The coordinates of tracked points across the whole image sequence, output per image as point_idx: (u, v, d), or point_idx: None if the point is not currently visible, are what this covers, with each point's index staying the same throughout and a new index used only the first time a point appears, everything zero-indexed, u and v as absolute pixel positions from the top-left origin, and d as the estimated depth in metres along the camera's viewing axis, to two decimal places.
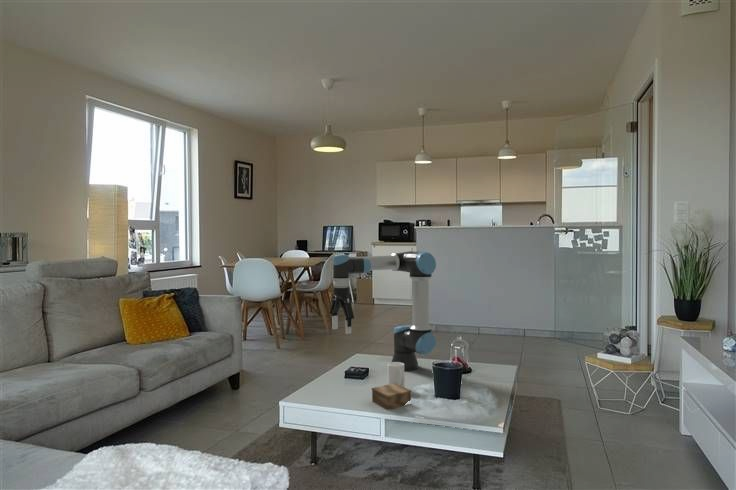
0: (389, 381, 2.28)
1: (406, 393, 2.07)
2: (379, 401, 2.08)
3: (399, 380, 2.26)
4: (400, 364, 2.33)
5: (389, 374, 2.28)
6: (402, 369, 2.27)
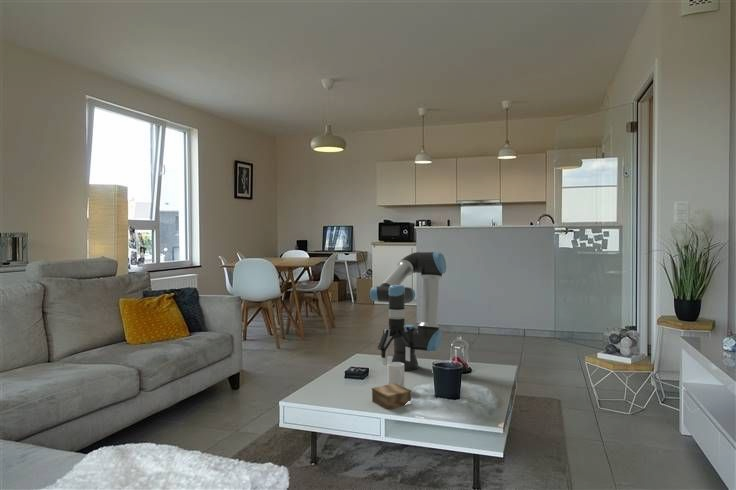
0: (389, 381, 2.28)
1: (406, 393, 2.07)
2: (379, 401, 2.08)
3: (399, 380, 2.26)
4: (400, 364, 2.33)
5: (389, 374, 2.28)
6: (402, 369, 2.27)
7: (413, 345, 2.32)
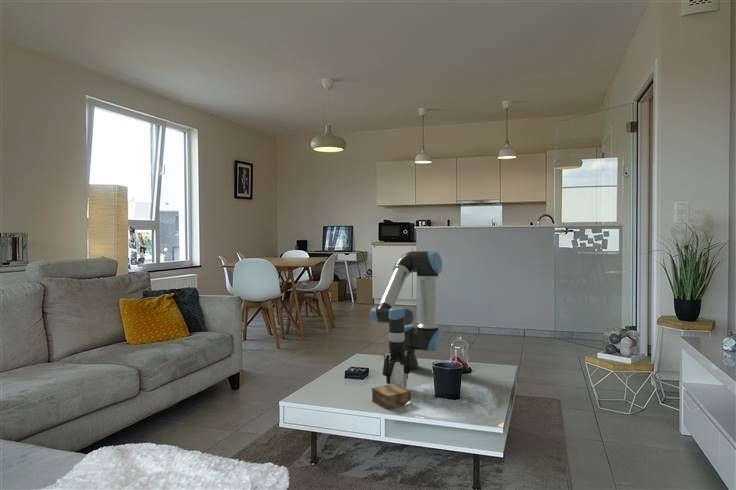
0: None
1: (406, 393, 2.07)
2: (379, 401, 2.08)
3: (398, 380, 2.26)
4: (399, 364, 2.32)
5: None
6: (401, 369, 2.27)
7: None
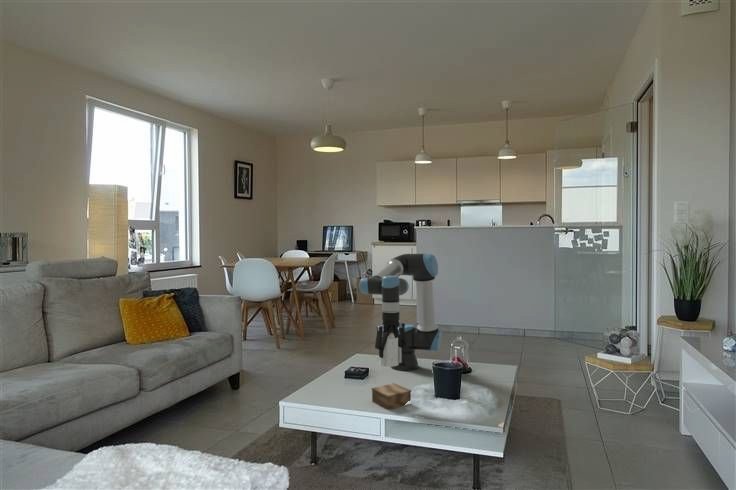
0: None
1: (406, 393, 2.07)
2: (379, 401, 2.08)
3: (392, 354, 2.08)
4: (394, 337, 2.14)
5: None
6: (396, 342, 2.09)
7: (404, 345, 2.13)
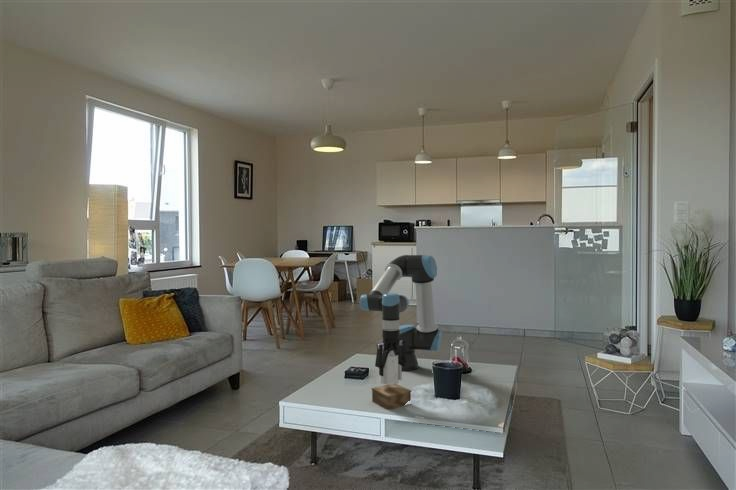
0: None
1: (406, 393, 2.07)
2: (379, 401, 2.08)
3: (392, 372, 2.08)
4: (394, 355, 2.14)
5: None
6: (396, 360, 2.09)
7: (404, 362, 2.13)
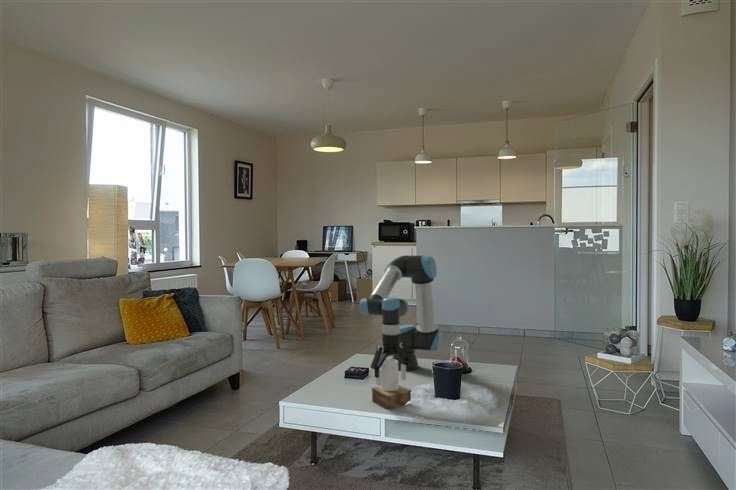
0: (382, 380, 2.09)
1: (406, 393, 2.07)
2: (379, 401, 2.08)
3: (392, 379, 2.08)
4: (394, 361, 2.14)
5: (382, 372, 2.09)
6: (396, 367, 2.09)
7: (409, 362, 2.14)
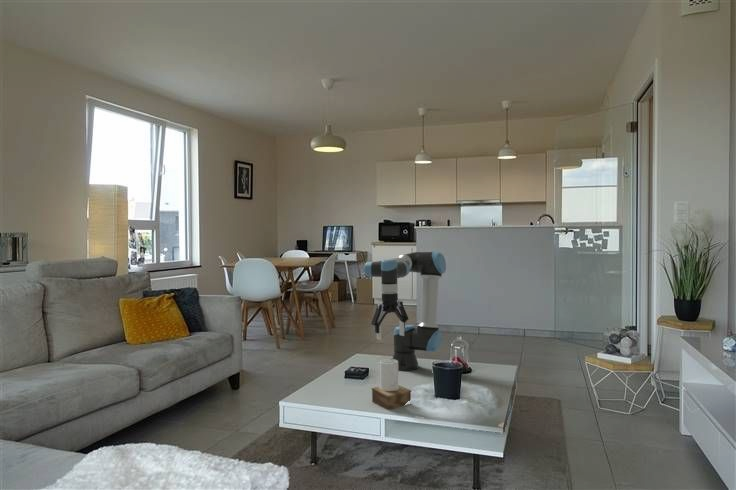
0: (382, 380, 2.09)
1: (406, 393, 2.07)
2: (379, 401, 2.08)
3: (392, 379, 2.08)
4: (394, 361, 2.14)
5: (381, 372, 2.09)
6: (396, 367, 2.09)
7: (407, 319, 2.30)
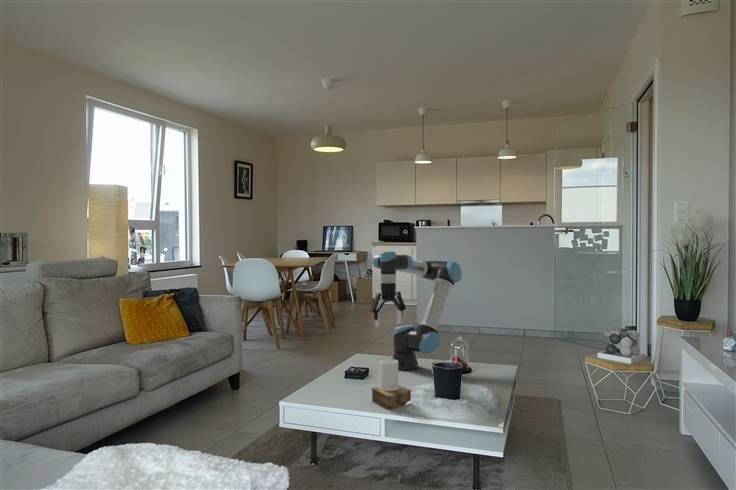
0: (382, 380, 2.09)
1: (406, 393, 2.07)
2: (379, 401, 2.08)
3: (392, 379, 2.08)
4: (394, 361, 2.14)
5: (381, 372, 2.09)
6: (396, 367, 2.09)
7: None
